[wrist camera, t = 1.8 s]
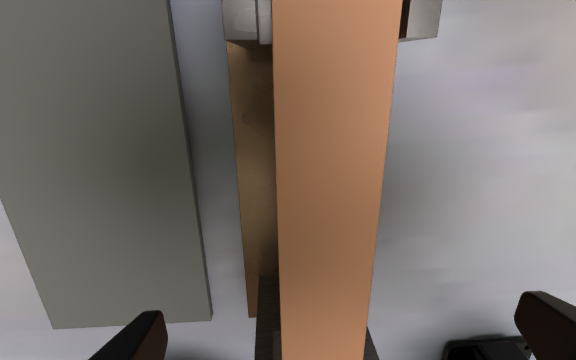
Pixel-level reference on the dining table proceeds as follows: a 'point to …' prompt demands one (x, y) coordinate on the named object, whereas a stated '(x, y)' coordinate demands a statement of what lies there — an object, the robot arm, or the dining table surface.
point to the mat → (100, 161)
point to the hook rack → (261, 151)
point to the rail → (330, 165)
